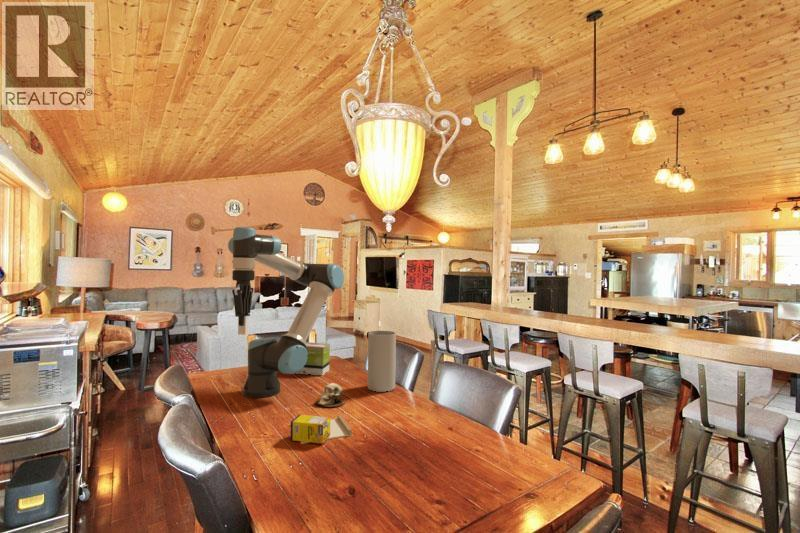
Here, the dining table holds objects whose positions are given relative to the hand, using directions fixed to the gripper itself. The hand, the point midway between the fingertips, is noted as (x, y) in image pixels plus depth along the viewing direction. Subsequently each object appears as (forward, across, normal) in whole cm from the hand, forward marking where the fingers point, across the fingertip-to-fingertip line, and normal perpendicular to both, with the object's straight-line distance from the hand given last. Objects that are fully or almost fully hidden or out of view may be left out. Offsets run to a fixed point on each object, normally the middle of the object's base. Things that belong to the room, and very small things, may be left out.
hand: (242, 334), depth 139 cm
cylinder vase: (+30, -34, +49) cm, 67 cm away
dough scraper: (+29, +12, +32) cm, 45 cm away
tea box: (+30, -57, +12) cm, 65 cm away
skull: (+30, -14, +30) cm, 45 cm away
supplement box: (+26, +17, +25) cm, 40 cm away
